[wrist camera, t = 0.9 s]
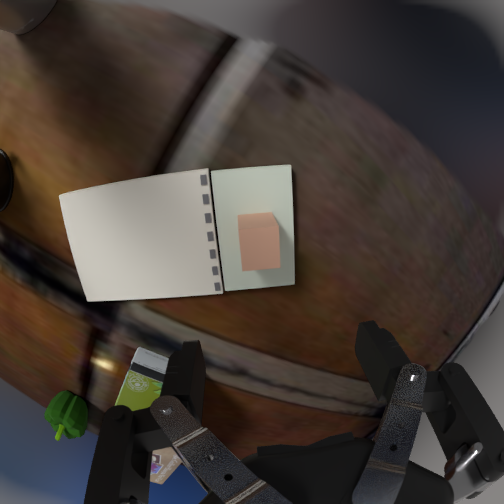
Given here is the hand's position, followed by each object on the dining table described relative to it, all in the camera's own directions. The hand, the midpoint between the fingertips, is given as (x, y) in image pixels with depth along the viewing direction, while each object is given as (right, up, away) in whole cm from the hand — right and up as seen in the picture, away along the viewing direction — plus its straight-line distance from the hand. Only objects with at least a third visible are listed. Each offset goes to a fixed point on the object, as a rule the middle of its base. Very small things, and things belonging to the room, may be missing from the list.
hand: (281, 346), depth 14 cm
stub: (-1, +7, +18) cm, 19 cm away
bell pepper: (-36, -24, +28) cm, 52 cm away
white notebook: (-14, +6, +17) cm, 23 cm away
